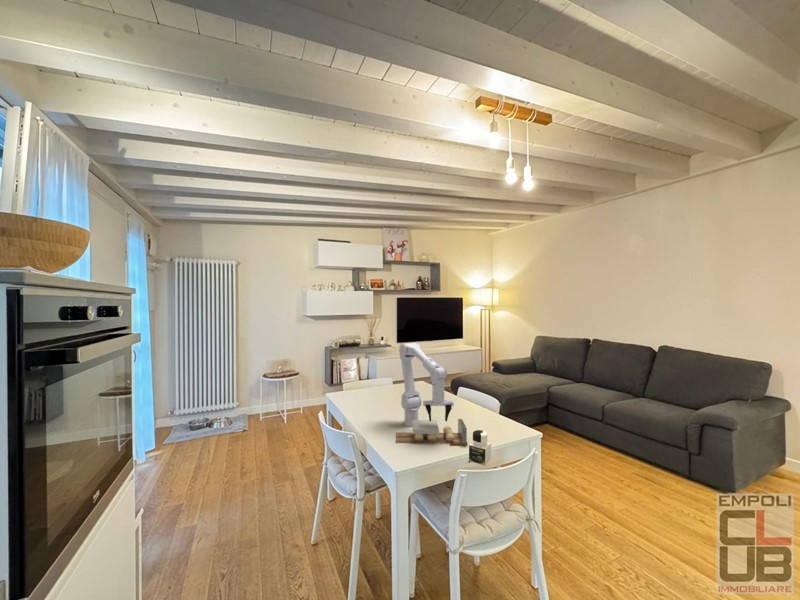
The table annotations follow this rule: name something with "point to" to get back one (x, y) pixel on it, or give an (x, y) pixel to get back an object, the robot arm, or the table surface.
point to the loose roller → (448, 434)
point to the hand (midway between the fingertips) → (438, 420)
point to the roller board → (425, 440)
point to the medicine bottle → (480, 448)
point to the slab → (425, 427)
